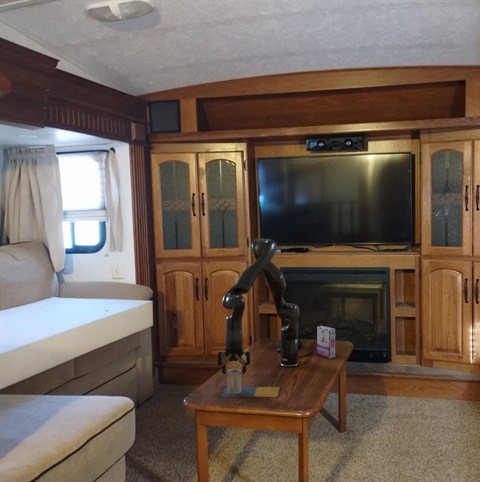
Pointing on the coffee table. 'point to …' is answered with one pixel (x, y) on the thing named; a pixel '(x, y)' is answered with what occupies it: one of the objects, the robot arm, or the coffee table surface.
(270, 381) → the coffee table surface
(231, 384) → the mug
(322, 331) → the candy bar box
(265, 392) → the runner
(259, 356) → the coffee table surface
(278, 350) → the miniature car
